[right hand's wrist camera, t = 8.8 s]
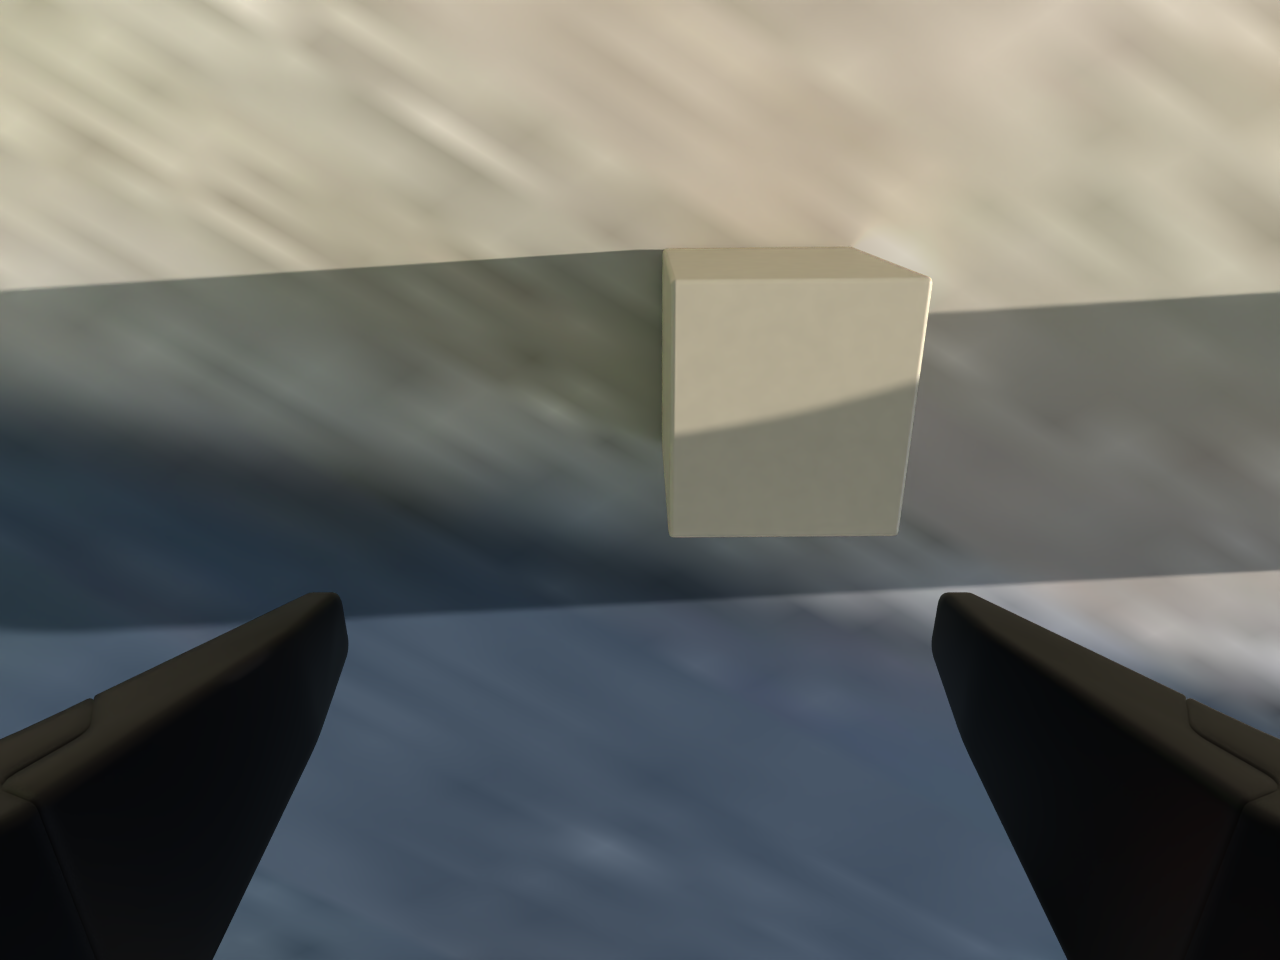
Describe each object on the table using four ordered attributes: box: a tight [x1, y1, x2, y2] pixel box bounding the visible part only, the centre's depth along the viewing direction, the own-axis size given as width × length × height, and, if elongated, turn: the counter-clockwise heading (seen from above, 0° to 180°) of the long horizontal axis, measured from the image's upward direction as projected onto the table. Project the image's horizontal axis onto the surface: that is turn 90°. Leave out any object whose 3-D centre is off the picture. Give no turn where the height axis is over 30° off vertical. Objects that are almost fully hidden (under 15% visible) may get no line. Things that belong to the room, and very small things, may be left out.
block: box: [662, 247, 932, 537], centre depth 15 cm, size 4×5×5 cm
